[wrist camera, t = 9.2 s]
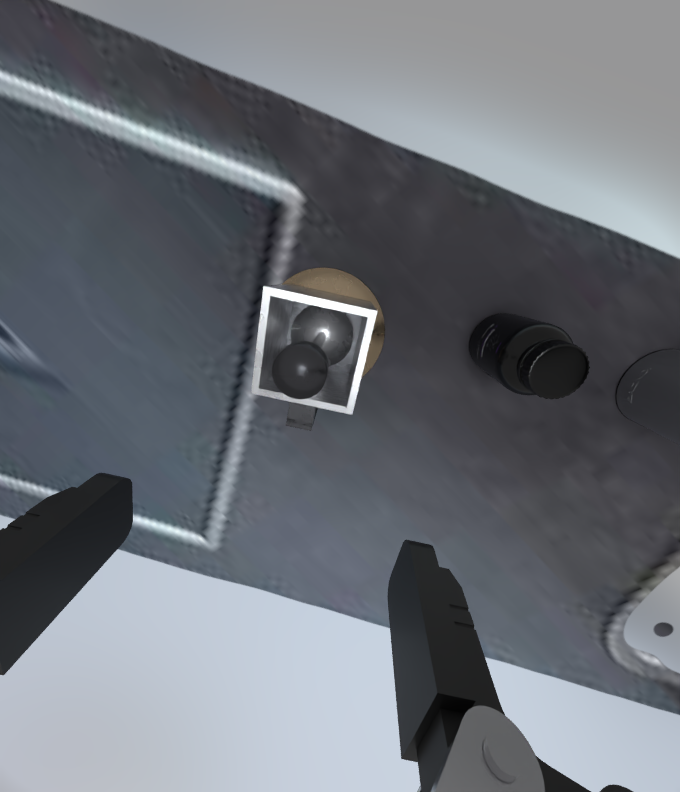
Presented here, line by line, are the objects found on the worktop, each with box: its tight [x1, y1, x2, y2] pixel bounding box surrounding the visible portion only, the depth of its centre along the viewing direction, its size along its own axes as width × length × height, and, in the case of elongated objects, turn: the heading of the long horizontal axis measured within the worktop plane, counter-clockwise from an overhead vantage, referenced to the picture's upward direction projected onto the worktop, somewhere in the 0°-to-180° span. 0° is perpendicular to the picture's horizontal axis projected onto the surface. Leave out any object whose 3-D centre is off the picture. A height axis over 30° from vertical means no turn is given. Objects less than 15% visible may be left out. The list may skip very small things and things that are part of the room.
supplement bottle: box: [470, 313, 590, 399], centre depth 31 cm, size 7×7×12 cm
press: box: [251, 268, 385, 431], centre depth 32 cm, size 14×14×12 cm
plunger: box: [272, 305, 353, 399], centre depth 28 cm, size 7×7×15 cm
